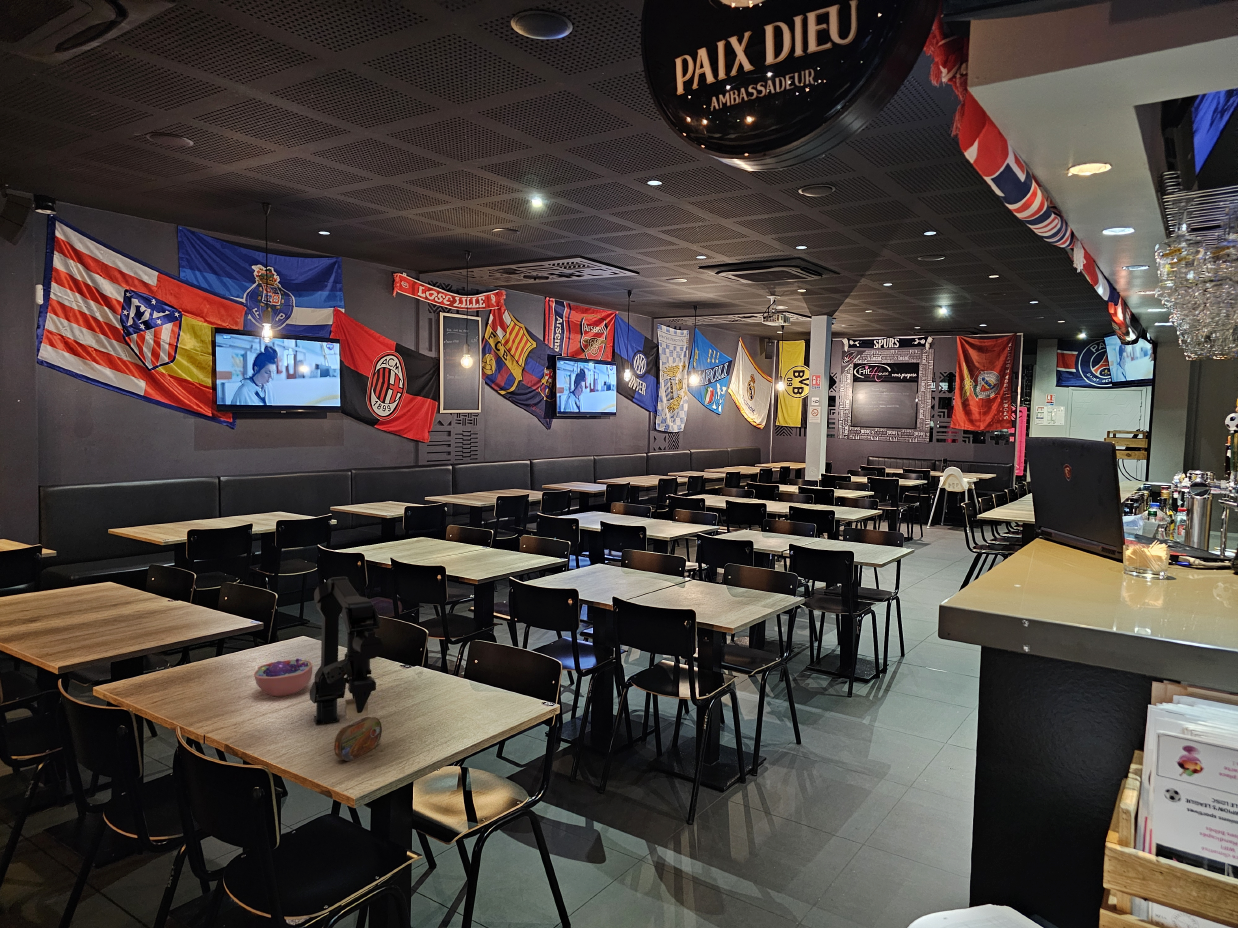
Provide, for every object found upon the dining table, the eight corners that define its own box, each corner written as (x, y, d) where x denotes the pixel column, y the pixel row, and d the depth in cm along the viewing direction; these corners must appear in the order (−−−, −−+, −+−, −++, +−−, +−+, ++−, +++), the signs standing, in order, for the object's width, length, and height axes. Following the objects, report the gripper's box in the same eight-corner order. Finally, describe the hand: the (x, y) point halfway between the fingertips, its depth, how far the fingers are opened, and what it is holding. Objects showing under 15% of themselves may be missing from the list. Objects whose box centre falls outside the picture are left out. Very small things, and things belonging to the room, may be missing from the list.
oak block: (344, 711, 193) (344, 699, 193) (364, 708, 195) (365, 696, 195) (347, 718, 188) (347, 705, 188) (367, 715, 191) (367, 702, 190)
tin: (341, 766, 185) (341, 732, 184) (331, 763, 186) (332, 730, 186) (382, 744, 198) (383, 713, 198) (373, 742, 200) (373, 711, 199)
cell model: (324, 684, 246) (324, 650, 246) (292, 705, 226) (292, 668, 226) (276, 682, 248) (276, 648, 248) (240, 702, 228) (240, 666, 228)
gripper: (321, 643, 196) (321, 702, 197) (329, 663, 179) (328, 726, 180) (365, 639, 201) (365, 696, 202) (376, 657, 184) (376, 719, 185)
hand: (358, 709), depth 192 cm, fingers closed on oak block, 5 cm apart
